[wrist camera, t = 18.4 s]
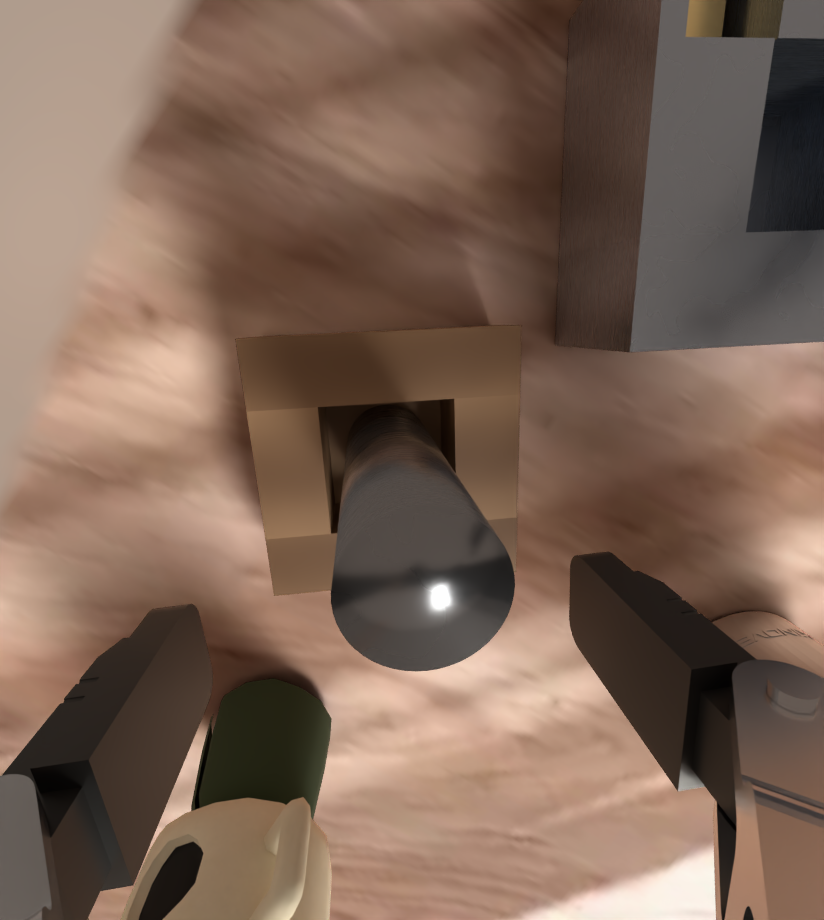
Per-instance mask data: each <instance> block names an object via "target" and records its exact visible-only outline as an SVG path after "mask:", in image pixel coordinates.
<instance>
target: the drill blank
mask: <svg viewBox="0 0 824 920" xmlns="http://www.w3.org/2000/svg"><path fill="white" fill-rule="evenodd" d="M514 588H515V579H514V571H513V565H512V562H511V559H510V556H509V554H508V552H507V550H506V548H505V546H504V545H503V543H502V542H501V540H500V539H499V537H498V536H497V534H496V533H495V531H494V530H493V528H492V527H491V525H490V524H489V522H488V521H487V519H486V518H485V516H484V515H483V513H482V512H481V510H480V509H479V507H478V506H477V504H476V503H475V501H474V500H473V498H472V497H471V495H470V494H469V492H468V491H467V489H466V488H465V486H464V485H463V484H462V482H461V481H460V479H459V478H458V476H457V475H456V473H455V472H454V470H453V469H452V467H451V466H450V464H449V463H448V461H447V460H446V458H445V457H444V455H443V454H442V452H441V451H440V449H439V448H438V446H437V445H436V443H435V442H434V440H433V439H432V437H431V436H430V434H429V433H428V431H427V430H426V428H425V427H424V425H423V424H422V422H421V421H420V420H419V418H418V417H417V416H416V415H415V414H413V413H412V412H411V411H409V410H407V409H405V408H403V407H400V406H397V405H380V406H376V407H373V408H370V409H369V410H367V411H365V412H364V413H362V414H361V415H360V416H359V417H358V418H357V419H356V420H355V422H354V423H353V425H352V427H351V429H350V431H349V435H348V440H347V449H346V458H345V467H344V477H343V486H342V495H341V504H340V513H339V523H338V532H337V541H336V550H335V559H334V568H333V578H332V587H331V604H332V610H333V614H334V617H335V620H336V623H337V625H338V627H339V629H340V631H341V633H342V634H343V636H344V637H345V639H346V640H347V641H348V642H349V643H350V644H351V645H352V647H353V648H354V649H356V650H357V651H358V652H359V653H361V654H362V655H363V656H365V657H366V658H368V659H370V660H371V661H373V662H376V663H378V664H380V665H383V666H386V667H389V668H393V669H398V670H404V671H428V670H434V669H439V668H443V667H447V666H450V665H452V664H455V663H457V662H460V661H462V660H464V659H466V658H468V657H469V656H471V655H473V654H474V653H475V652H477V651H478V650H480V649H481V648H482V647H483V646H484V645H486V644H487V643H488V642H489V641H490V640H491V639H492V638H493V637H494V635H495V634H496V633H497V632H498V630H499V629H500V628H501V626H502V625H503V623H504V621H505V619H506V617H507V615H508V613H509V610H510V608H511V605H512V601H513V597H514Z"/></svg>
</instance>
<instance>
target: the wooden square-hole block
mask: <svg viewBox="0 0 824 920" xmlns="http://www.w3.org/2000/svg"><path fill="white" fill-rule="evenodd" d="M521 331H522V325H492V326H470V327H449V328H429V329H408V330H387V331H366V332H345V333H324V334H303V335H282V336H261V337H250V338H239V339H235V340H236V347H237V354H238V360H239V367H240V373H241V380H242V387H243V393H244V400H245V406H246V413H247V420H248V426H249V433H250V440H251V446H252V453H253V459H254V466H255V473H256V479H257V486H258V492H259V499H260V506H261V512H262V519H263V526H264V532H265V539H266V545H267V552H268V559H269V565H270V572H271V578H272V585H273V592H274V596H279V595H289V594H299V593H309V592H319V591H329V590H331V587H332V578H333V568H334V559H335V550H336V541H337V532H338V523H339V513H340V504H341V495H342V486H343V477H344V467H345V458H346V449H347V440H348V435H349V431H350V429H351V427H352V425H353V423H354V422H355V420H356V419H357V418H358V417H359V416H360V415H361V414H362V413H364V412H365V411H367V410H369V409H370V408H373V407H376V406H380V405H397V406H400V407H403V408H405V409H407V410H409V411H411V412H412V413H413V414H415V415H416V416H417V417H418V418H419V420H420V421H421V422H422V424H423V425H424V427H425V428H426V430H427V431H428V433H429V434H430V436H431V437H432V439H433V440H434V442H435V443H436V445H437V446H438V448H439V449H440V451H441V452H442V454H443V455H444V457H445V458H446V460H447V461H448V463H449V464H450V466H451V467H452V469H453V470H454V472H455V473H456V475H457V476H458V478H459V479H460V481H461V482H462V484H463V485H464V486H465V488H466V489H467V491H468V492H469V494H470V495H471V497H472V498H473V500H474V501H475V503H476V504H477V506H478V507H479V509H480V510H481V512H482V513H483V515H484V516H485V518H486V519H487V521H488V522H489V524H490V525H491V527H492V528H493V530H494V531H495V533H496V534H497V536H498V537H499V539H500V540H501V542H502V543H503V545H504V546H505V548H506V550H507V552H508V554H509V556H510V559H511V562H512V565H513V571H514V572H516V546H517V503H518V460H519V417H520V374H521Z"/></svg>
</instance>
